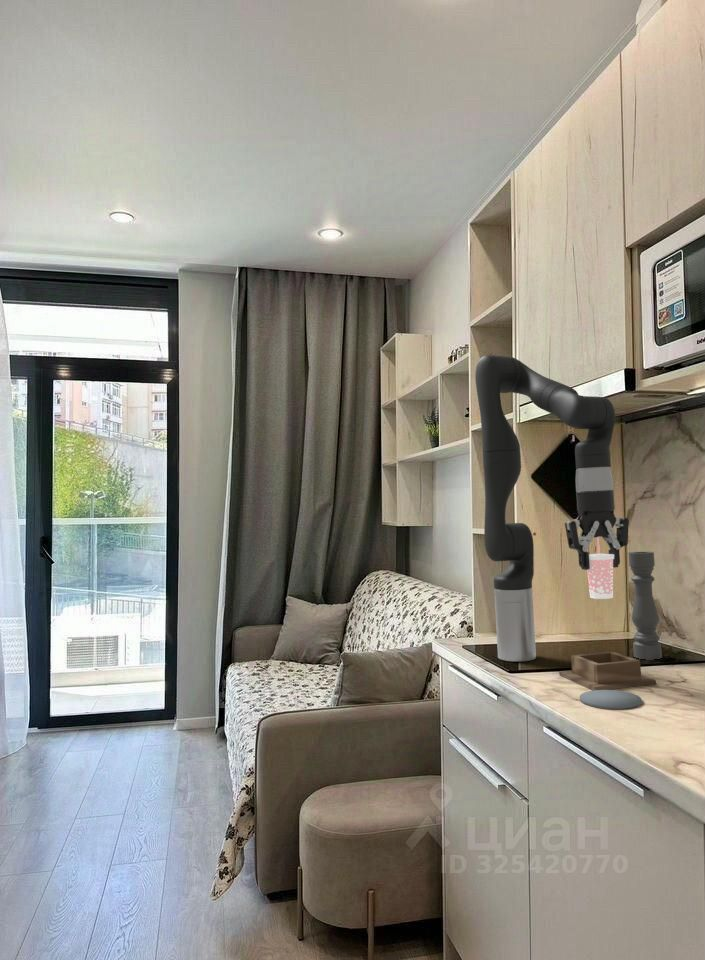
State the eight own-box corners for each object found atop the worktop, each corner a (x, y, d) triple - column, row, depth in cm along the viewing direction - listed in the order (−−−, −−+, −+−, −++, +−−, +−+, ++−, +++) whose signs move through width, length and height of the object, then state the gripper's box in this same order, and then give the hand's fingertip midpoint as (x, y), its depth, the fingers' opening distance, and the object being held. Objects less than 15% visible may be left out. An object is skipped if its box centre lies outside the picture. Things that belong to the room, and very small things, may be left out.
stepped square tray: (559, 675, 150) (558, 654, 150) (616, 669, 153) (614, 648, 153) (594, 691, 137) (593, 668, 137) (656, 684, 140) (654, 661, 140)
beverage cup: (606, 600, 140) (601, 531, 141) (580, 597, 145) (576, 531, 145) (622, 596, 144) (618, 530, 144) (597, 594, 148) (593, 530, 149)
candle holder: (663, 655, 164) (656, 551, 165) (660, 661, 159) (653, 553, 160) (635, 653, 167) (629, 551, 168) (631, 659, 162) (625, 553, 163)
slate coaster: (569, 696, 134) (568, 693, 134) (619, 690, 136) (618, 687, 136) (600, 712, 123) (600, 708, 123) (654, 705, 125) (654, 702, 125)
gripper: (614, 488, 150) (619, 565, 150) (554, 491, 147) (559, 569, 147) (635, 487, 143) (640, 567, 142) (573, 490, 140) (578, 572, 139)
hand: (599, 568), depth 144 cm, fingers closed on beverage cup, 6 cm apart
